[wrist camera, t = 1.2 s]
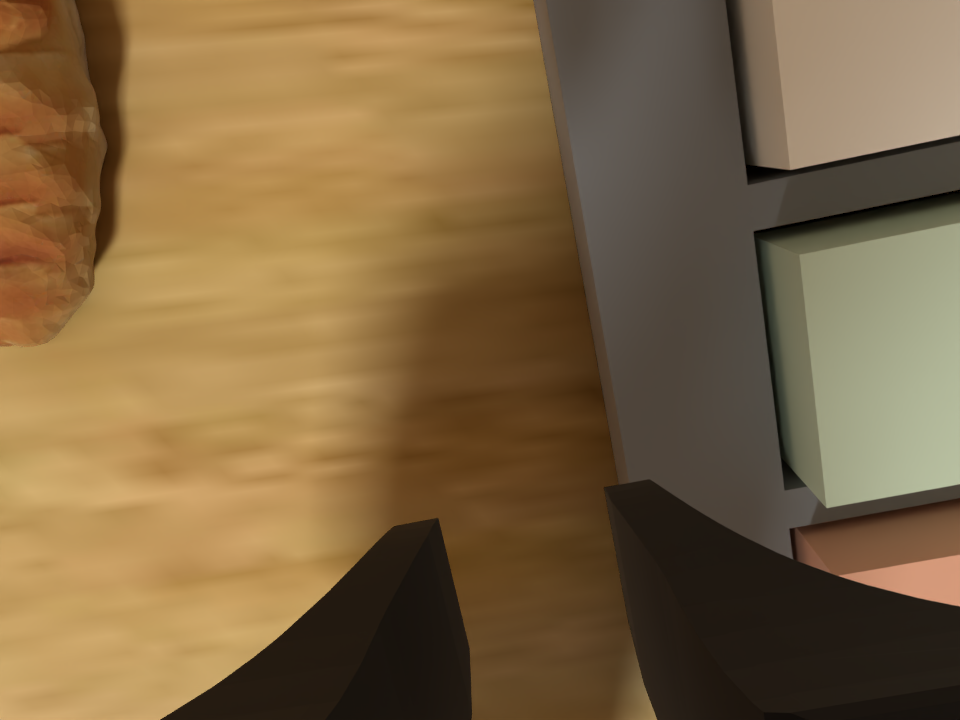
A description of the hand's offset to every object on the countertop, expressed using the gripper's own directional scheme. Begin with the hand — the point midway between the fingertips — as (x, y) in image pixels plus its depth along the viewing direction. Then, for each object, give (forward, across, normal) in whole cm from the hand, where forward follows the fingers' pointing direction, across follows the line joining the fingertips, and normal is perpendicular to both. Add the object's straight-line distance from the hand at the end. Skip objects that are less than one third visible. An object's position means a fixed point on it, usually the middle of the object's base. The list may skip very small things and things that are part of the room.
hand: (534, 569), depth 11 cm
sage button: (+8, -8, 0) cm, 11 cm away
